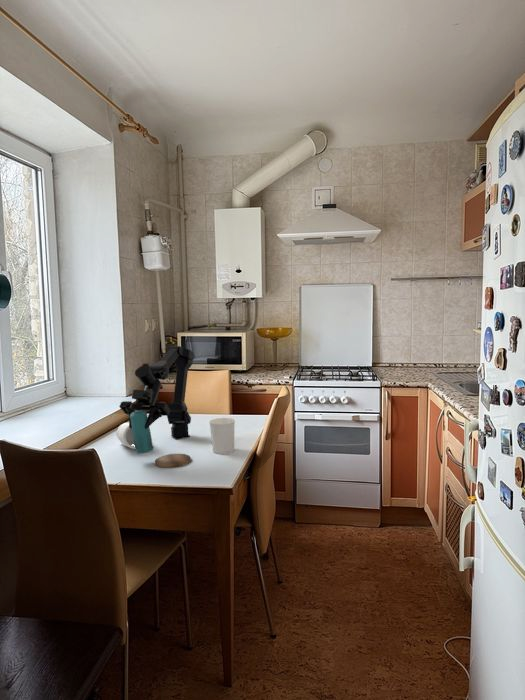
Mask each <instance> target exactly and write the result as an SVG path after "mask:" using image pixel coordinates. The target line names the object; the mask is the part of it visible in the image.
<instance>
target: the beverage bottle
mask: <svg viewBox="0 0 525 700" xmlns="http://www.w3.org/2000/svg"><path fill="white" fill-rule="evenodd" d="M142 407H143V406H142V403H141V402H136V401H135V402H132V404H131V409H139V408H142ZM147 412H148V411H144V410H137V411H135V412H132V413H131V415H130V419H131V425H132V431H133V436H134V438H133V439H134V442H135V449H134V450H135V452H136V454H139V455H140V454H146V453H149V452H153V450H154V443H153V439H152V432H151V429H150V428H151V427H150V426H149V427H148V428H147V429H145V424H146V421H147V418H148V413H147Z"/></svg>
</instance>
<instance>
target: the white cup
mask: <svg viewBox="0 0 525 700" xmlns="http://www.w3.org/2000/svg"><path fill="white" fill-rule="evenodd" d="M235 422H236V421H235V419H234V418H231V417H230V418H229V417H220V418H215V419H210V420H209V429H210V436H211V437H210V438H211V447H212V452H213V453H214V454H218V455H226V454H231V453H233V452H234V451H235Z"/></svg>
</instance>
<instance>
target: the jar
mask: <svg viewBox="0 0 525 700" xmlns="http://www.w3.org/2000/svg"><path fill="white" fill-rule="evenodd" d="M116 437H117V440H119V442H120V443H121V444H122V445H123V446H125V447H128V448H129V449H134V450H135V447H134V446H131V445H132V444H134V445H135V442H134V439H133V438H134V436H133V431H132V428H130V427H129V421H128V422H123V423H122V424H121V423H120V425H119V426H118V428H117V431H116Z"/></svg>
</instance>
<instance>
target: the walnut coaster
mask: <svg viewBox="0 0 525 700" xmlns="http://www.w3.org/2000/svg"><path fill="white" fill-rule="evenodd" d="M191 461H192V460H191V456H190V455H188V454H186V453H170V454H164V455H161V456H158V457H157V458H155V459H154V466H156V467H158V468H162V469H171V468H172V469H173V468H180V467H182V466H186V465H188V464H189V463H191Z"/></svg>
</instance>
